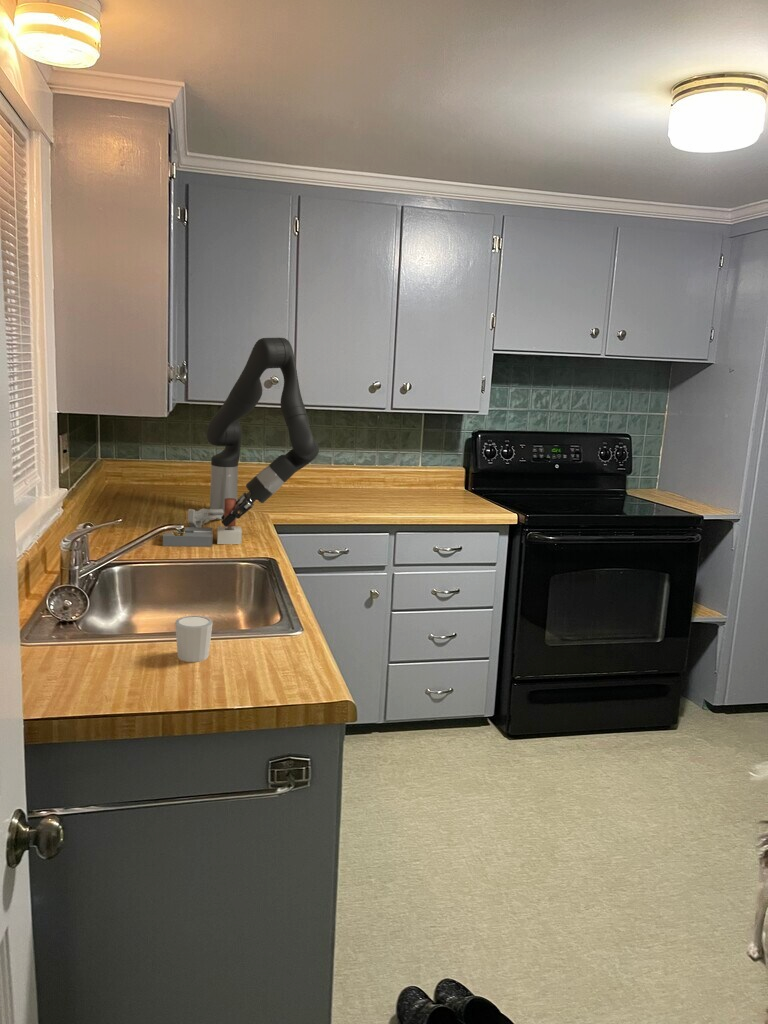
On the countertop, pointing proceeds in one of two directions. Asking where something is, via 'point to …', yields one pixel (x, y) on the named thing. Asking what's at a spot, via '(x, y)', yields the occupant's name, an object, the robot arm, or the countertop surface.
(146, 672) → the countertop surface
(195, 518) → the gun
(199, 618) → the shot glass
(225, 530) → the block
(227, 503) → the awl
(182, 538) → the grey flat block
